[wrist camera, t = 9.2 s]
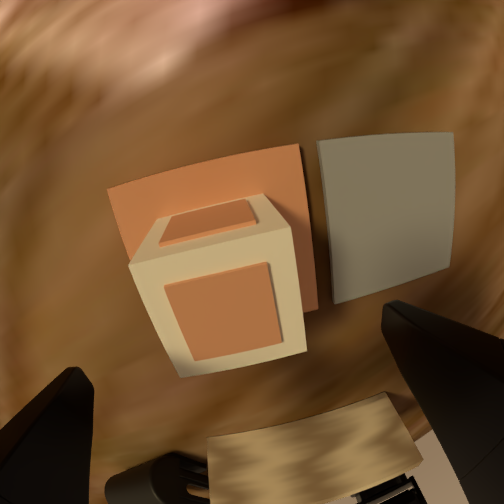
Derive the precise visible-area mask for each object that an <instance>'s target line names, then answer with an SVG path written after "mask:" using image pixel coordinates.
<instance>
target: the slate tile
mask: <svg viewBox="0 0 504 504" xmlns="http://www.w3.org/2000/svg"><path fill="white" fill-rule="evenodd" d="M316 143H317V150H318V156H319V163H320V170H321V178H322V186H323V194H324V202H325V211H326V221H327V231H328V243H329V255H330V269H331V285H332V301H333V303H334V304H338V303H342V302H345V301H348V300H352V299H355V298H359V297H362V296H365V295H368V294H372V293H375V292H378V291H381V290H384V289H388V288H391V287H394V286H397V285H400V284H403V283H406V282H409V281H412V280H414V279H417V278H420V277H423V276H426V275H429V274H431V273H434V272H437V271H440V270H442V269H445V268H448V267H449V265H450V257H451V249H452V239H453V227H454V211H455V154H454V138H453V132H410V133H390V134H375V135H363V136H352V137H342V138H333V139H325V140H317V141H316Z"/></svg>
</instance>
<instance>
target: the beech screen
mask: <svg viewBox="0 0 504 504" xmlns="http://www.w3.org/2000/svg"><path fill="white" fill-rule="evenodd" d="M207 456H208V476H209V492H210V504H324V503H328V502H331V501H334V500H337V499H341V498H344V497H347V496H350V495H353V494H355V493H358V492H361V491H364V490H366V489H369V488H371V487H374V486H376V485H379V484H381V483H383V482H386V481H388V480H390V479H393V478H395V477H397V476H399V475H401V474H403V473H405V472H407V471H409V470H411V469H413V468H415V467H417V466H419V465H420V463H421V462H422V461H423V458H422V456H421V454H420V452H419V451H418V449H417V447H416V445H415V443H414V441H413V440H412V438H411V436H410V434H409V432H408V431H407V429H406V427H405V425H404V424H403V422H402V420H401V418H400V417H399V415H398V413H397V411H396V410H395V408H394V406H393V405H392V403H391V401H390V399H389V398H388V396H387V394H386V393H385V392H383V393H380V394H378V395H375V396H373V397H370V398H367V399H365V400H362V401H359V402H356V403H354V404H351V405H348V406H345V407H342V408H339V409H336V410H333V411H330V412H326V413H323V414H320V415H316V416H313V417H309V418H305V419H302V420H298V421H294V422H290V423H286V424H282V425H277V426H273V427H268V428H263V429H258V430H253V431H248V432H242V433H236V434H229V435H223V436H215V437H207Z"/></svg>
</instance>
